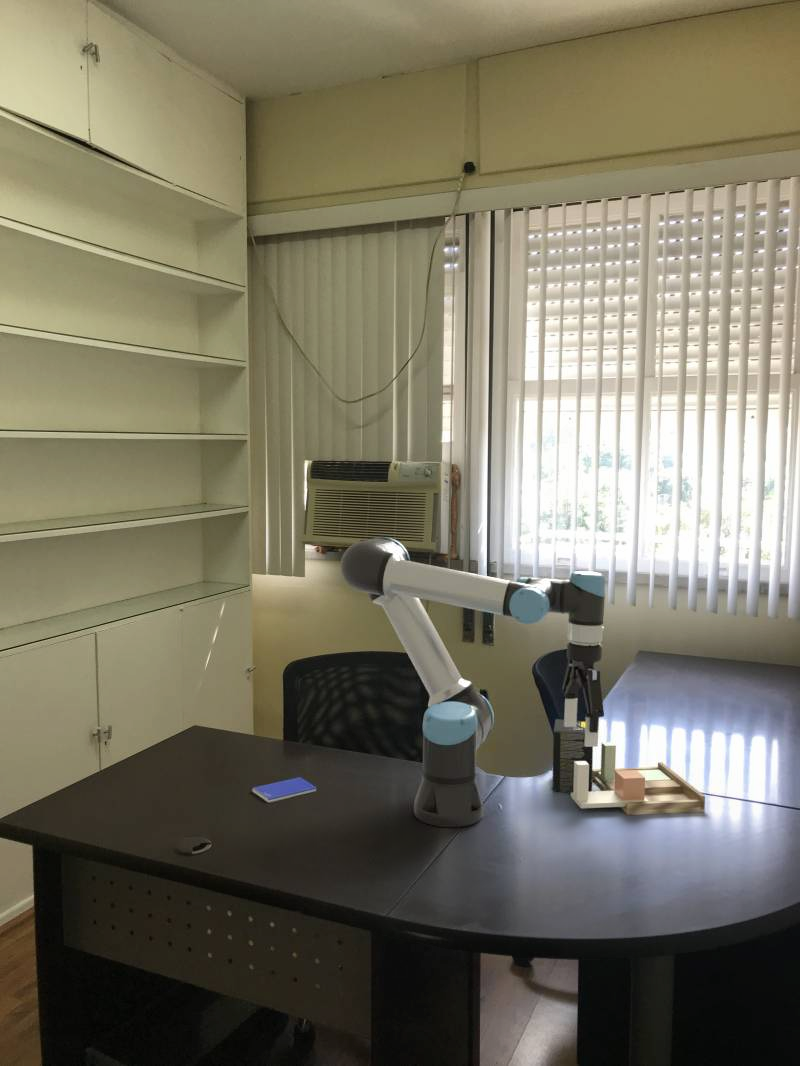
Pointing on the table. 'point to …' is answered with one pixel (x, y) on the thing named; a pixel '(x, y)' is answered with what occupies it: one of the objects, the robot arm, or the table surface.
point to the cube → (629, 785)
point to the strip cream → (594, 797)
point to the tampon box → (569, 755)
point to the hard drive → (284, 789)
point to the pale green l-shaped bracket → (609, 766)
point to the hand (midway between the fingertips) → (580, 736)
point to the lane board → (660, 794)
